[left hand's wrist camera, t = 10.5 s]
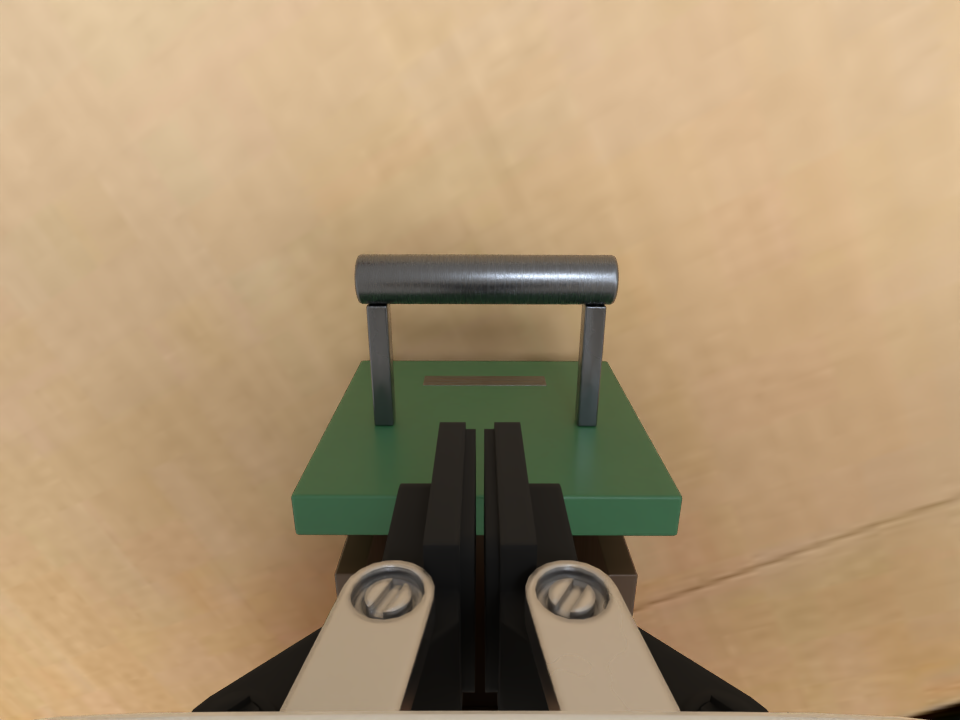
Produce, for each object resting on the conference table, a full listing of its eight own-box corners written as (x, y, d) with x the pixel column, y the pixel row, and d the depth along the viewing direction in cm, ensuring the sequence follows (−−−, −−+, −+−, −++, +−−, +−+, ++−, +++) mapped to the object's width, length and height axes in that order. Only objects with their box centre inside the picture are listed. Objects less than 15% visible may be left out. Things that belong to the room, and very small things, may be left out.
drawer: (351, 226, 22) (262, 290, 13) (618, 227, 22) (713, 291, 13) (385, 696, 30) (346, 930, 21) (579, 696, 30) (620, 931, 21)
